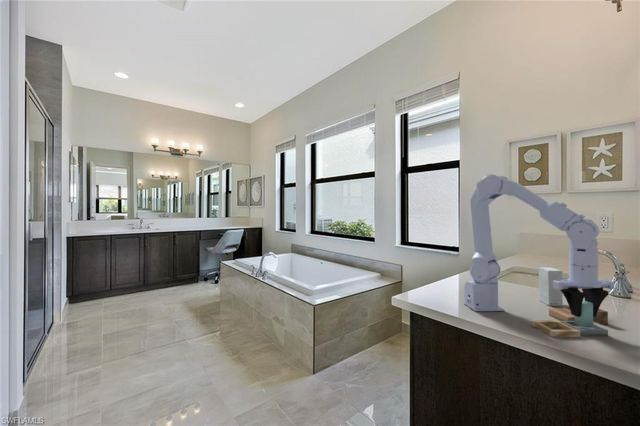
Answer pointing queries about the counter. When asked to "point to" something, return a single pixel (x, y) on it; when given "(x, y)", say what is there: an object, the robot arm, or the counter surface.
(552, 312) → the tan cardboard block
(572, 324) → the tray
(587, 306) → the teal capsule
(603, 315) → the stop block
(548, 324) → the socket block
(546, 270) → the skincare box
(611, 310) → the counter surface
